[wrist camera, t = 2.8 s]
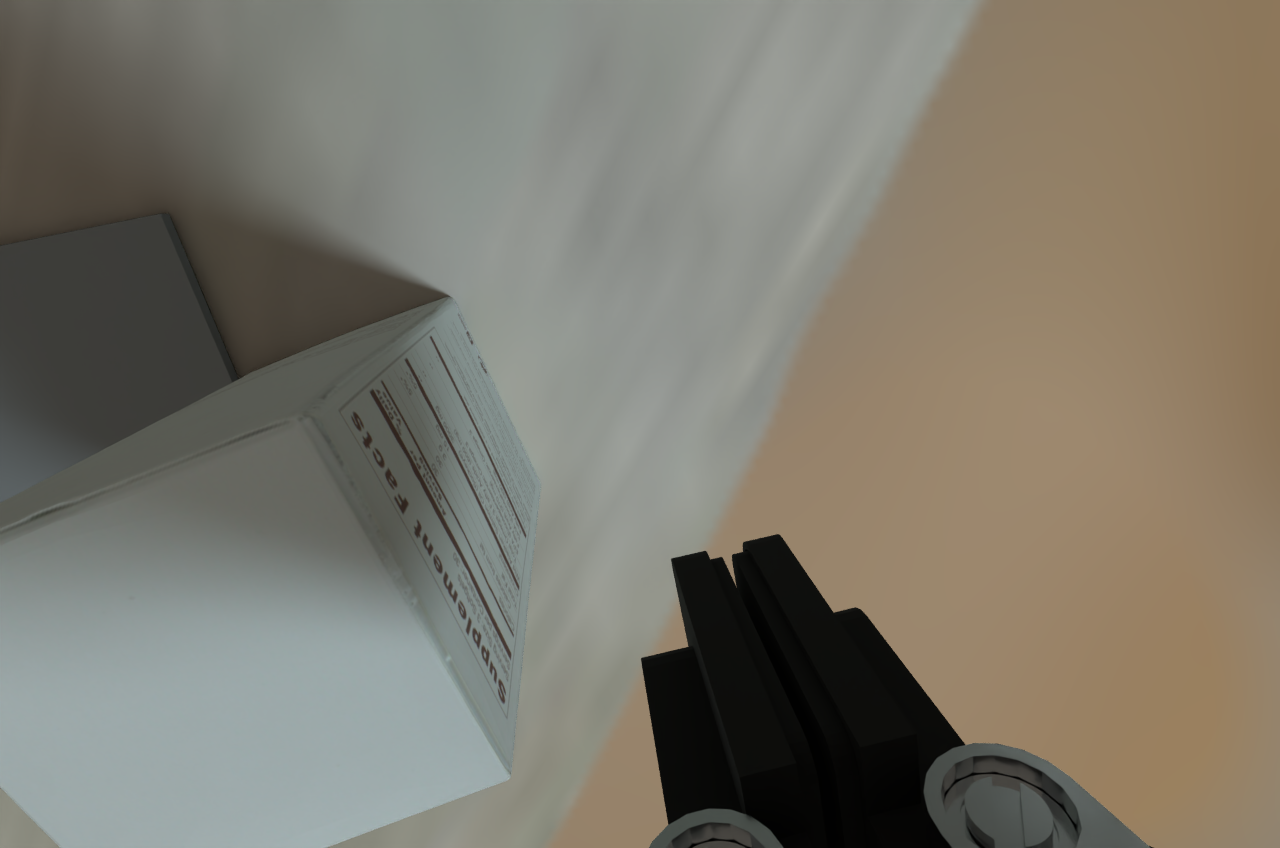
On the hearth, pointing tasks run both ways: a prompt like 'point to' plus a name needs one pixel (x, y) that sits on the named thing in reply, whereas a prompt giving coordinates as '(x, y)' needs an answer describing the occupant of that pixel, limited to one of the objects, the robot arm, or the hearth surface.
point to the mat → (98, 343)
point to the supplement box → (275, 605)
